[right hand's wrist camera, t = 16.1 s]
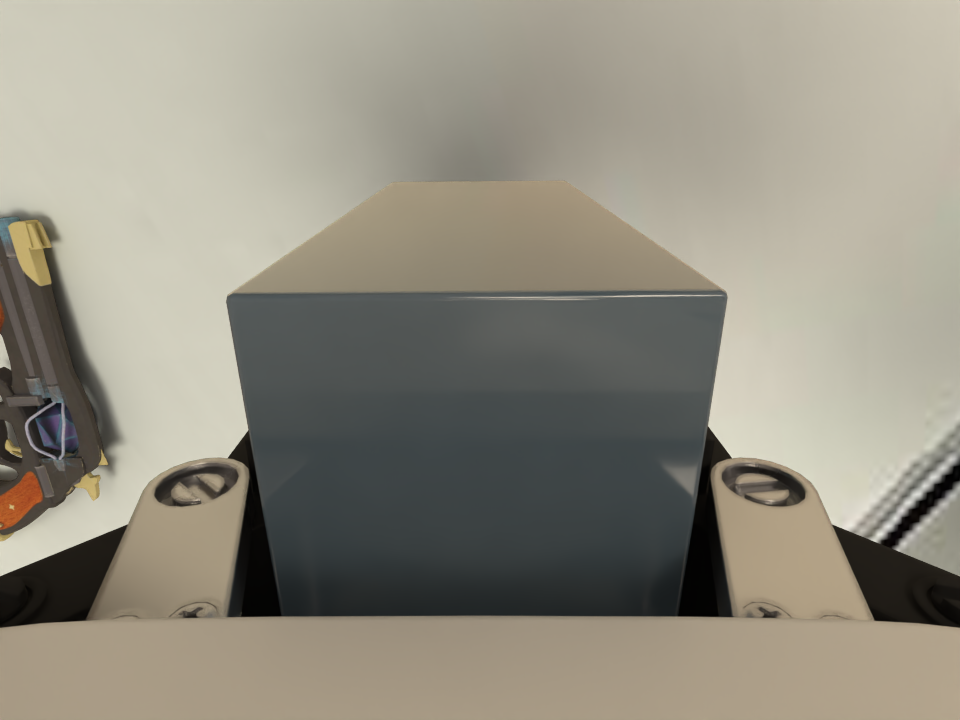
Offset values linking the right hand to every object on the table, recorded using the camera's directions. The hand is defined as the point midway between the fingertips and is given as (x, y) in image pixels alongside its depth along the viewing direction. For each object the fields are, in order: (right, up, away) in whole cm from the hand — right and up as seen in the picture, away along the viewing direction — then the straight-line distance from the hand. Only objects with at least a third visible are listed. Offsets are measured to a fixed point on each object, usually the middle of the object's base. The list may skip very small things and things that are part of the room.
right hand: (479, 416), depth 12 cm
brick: (0, +2, +6) cm, 6 cm away
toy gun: (-26, 0, +22) cm, 35 cm away
